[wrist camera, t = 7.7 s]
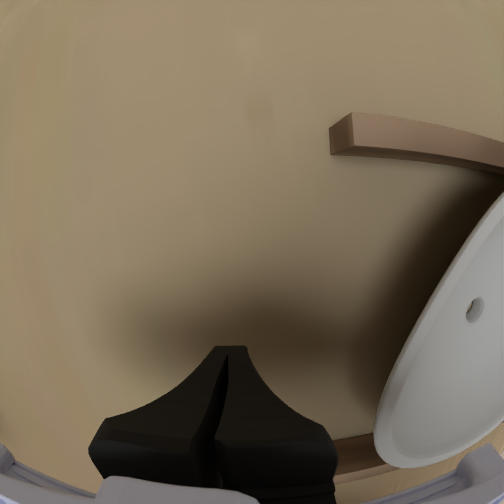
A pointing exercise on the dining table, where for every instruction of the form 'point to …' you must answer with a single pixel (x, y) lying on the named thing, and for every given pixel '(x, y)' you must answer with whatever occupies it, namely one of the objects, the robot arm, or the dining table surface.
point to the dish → (450, 359)
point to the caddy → (408, 148)
